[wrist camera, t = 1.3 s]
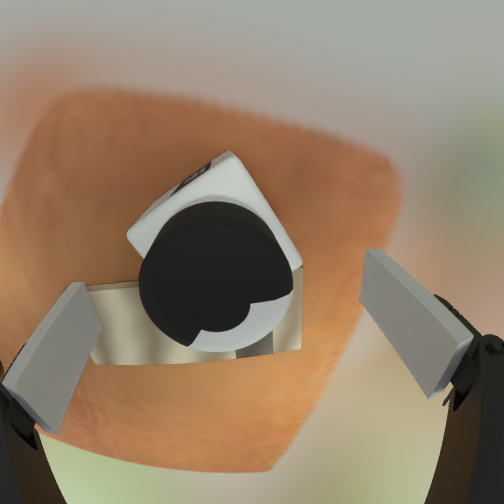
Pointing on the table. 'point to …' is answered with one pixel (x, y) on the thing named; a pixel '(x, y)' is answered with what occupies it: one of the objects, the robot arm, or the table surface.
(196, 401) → the table surface
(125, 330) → the metal panel
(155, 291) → the container
